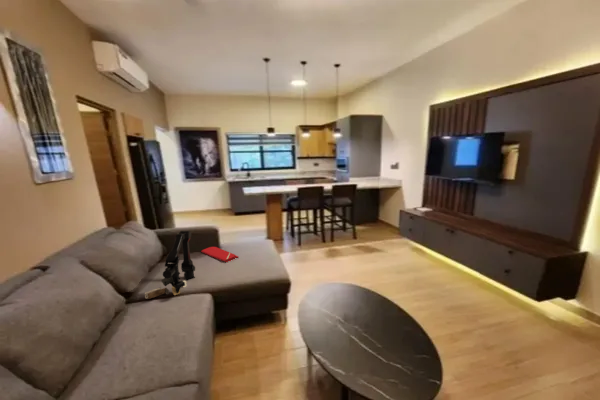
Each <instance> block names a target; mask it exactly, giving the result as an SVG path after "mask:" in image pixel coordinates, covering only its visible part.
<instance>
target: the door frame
mask: <svg viewBox="0 0 600 400" xmlns="http://www.w3.org/2000/svg"><path fill="white" fill-rule="evenodd" d="M182 281H183V282H184V283H185V286H182V287H181V288H186V287H187V286H188V284H187V283H188V282H187V281H188V280H186V279H185V280H182ZM160 289H162V288H161V287H158V288H154V289H151V290H148V291H146V292H144V298H145V299H147V300H148V294H149V293H152V292H155V291H158V290H160Z"/></svg>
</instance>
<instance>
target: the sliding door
mask: <svg viewBox="0 0 600 400" xmlns="http://www.w3.org/2000/svg"><path fill="white" fill-rule="evenodd" d="M164 294H166V295H169V294H170V290H169V289H168V288H167V287H164V288H161V289H160V290H158V291H155V292H152V293H149V294H148V298H147V300H148V299H149V300H150V299H152V298H153V299H154V298H155V297H156V298H157V297H159V296H162V295H164Z"/></svg>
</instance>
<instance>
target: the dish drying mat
mask: <svg viewBox="0 0 600 400" xmlns="http://www.w3.org/2000/svg"><path fill="white" fill-rule="evenodd" d="M201 253H202V254H205V255H206V256H210V257H212V258H214V259H217V260H219V261H222V262H225V263H229V262H228V261H230V262H232V261H234V260H233V259H235V258H238V259H239V256H238V255H236V254H235V253H232V252H229V251H227V250H224V249H222V248H220V247H218V246H209V247H206V248H204V249H202V250H201ZM231 260H232V261H231ZM235 260H236V259H235Z"/></svg>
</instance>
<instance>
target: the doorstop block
mask: <svg viewBox="0 0 600 400" xmlns="http://www.w3.org/2000/svg"><path fill="white" fill-rule="evenodd" d="M171 292H172V295H174V296H176V295H177V296H178V295H179V294H181V289H180V290H179V293H176V289H175V288H174V287H172V286H171Z"/></svg>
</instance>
